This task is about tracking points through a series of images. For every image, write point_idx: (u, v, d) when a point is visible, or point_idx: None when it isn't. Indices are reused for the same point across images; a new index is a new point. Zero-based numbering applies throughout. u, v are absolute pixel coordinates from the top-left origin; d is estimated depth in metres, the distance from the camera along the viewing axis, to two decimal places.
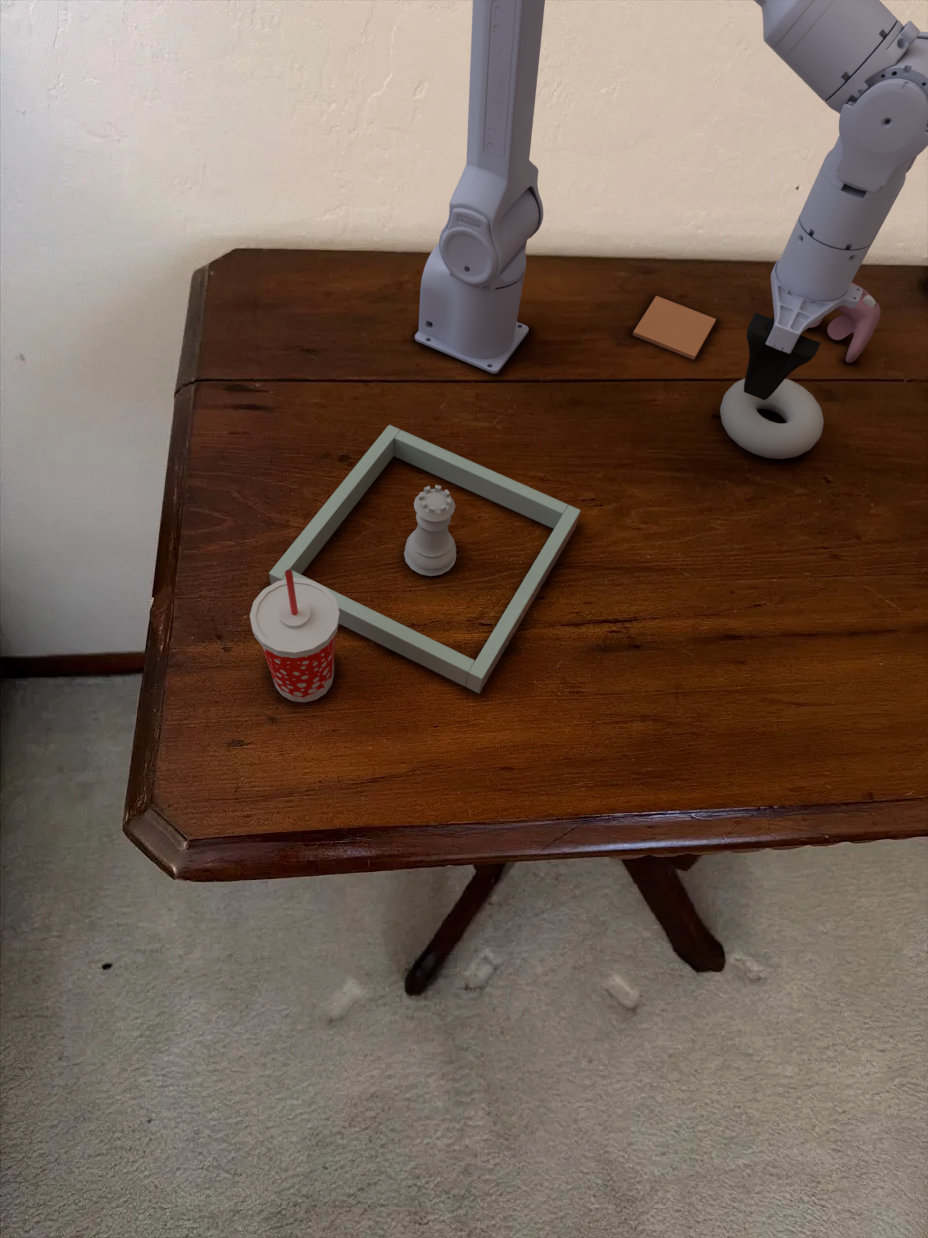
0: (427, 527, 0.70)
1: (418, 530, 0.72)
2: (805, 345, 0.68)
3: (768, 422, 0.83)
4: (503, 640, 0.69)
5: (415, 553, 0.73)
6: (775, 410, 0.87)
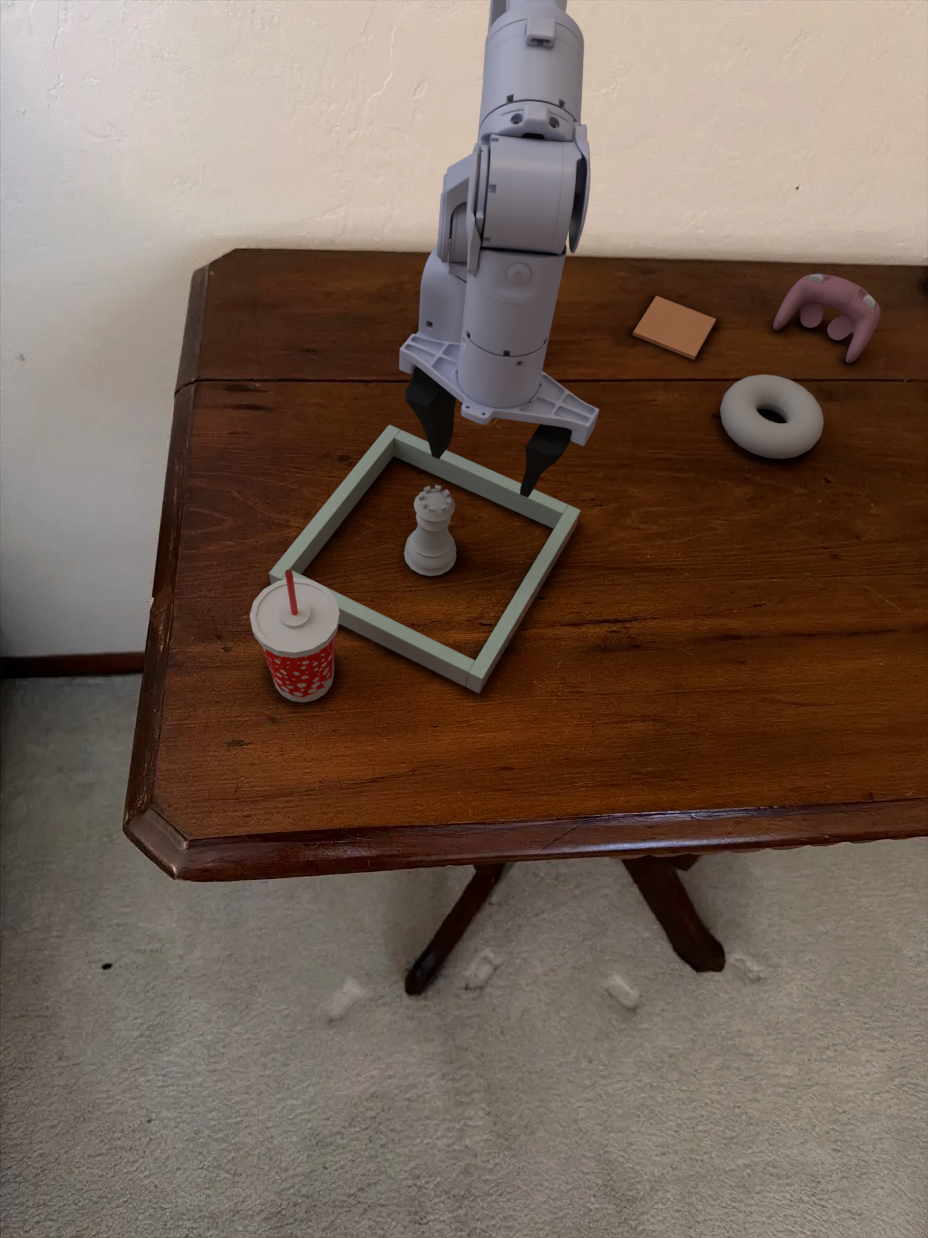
0: (427, 527, 0.70)
1: (418, 530, 0.72)
2: (421, 392, 0.63)
3: (769, 422, 0.83)
4: (503, 640, 0.69)
5: (415, 553, 0.73)
6: (775, 410, 0.87)
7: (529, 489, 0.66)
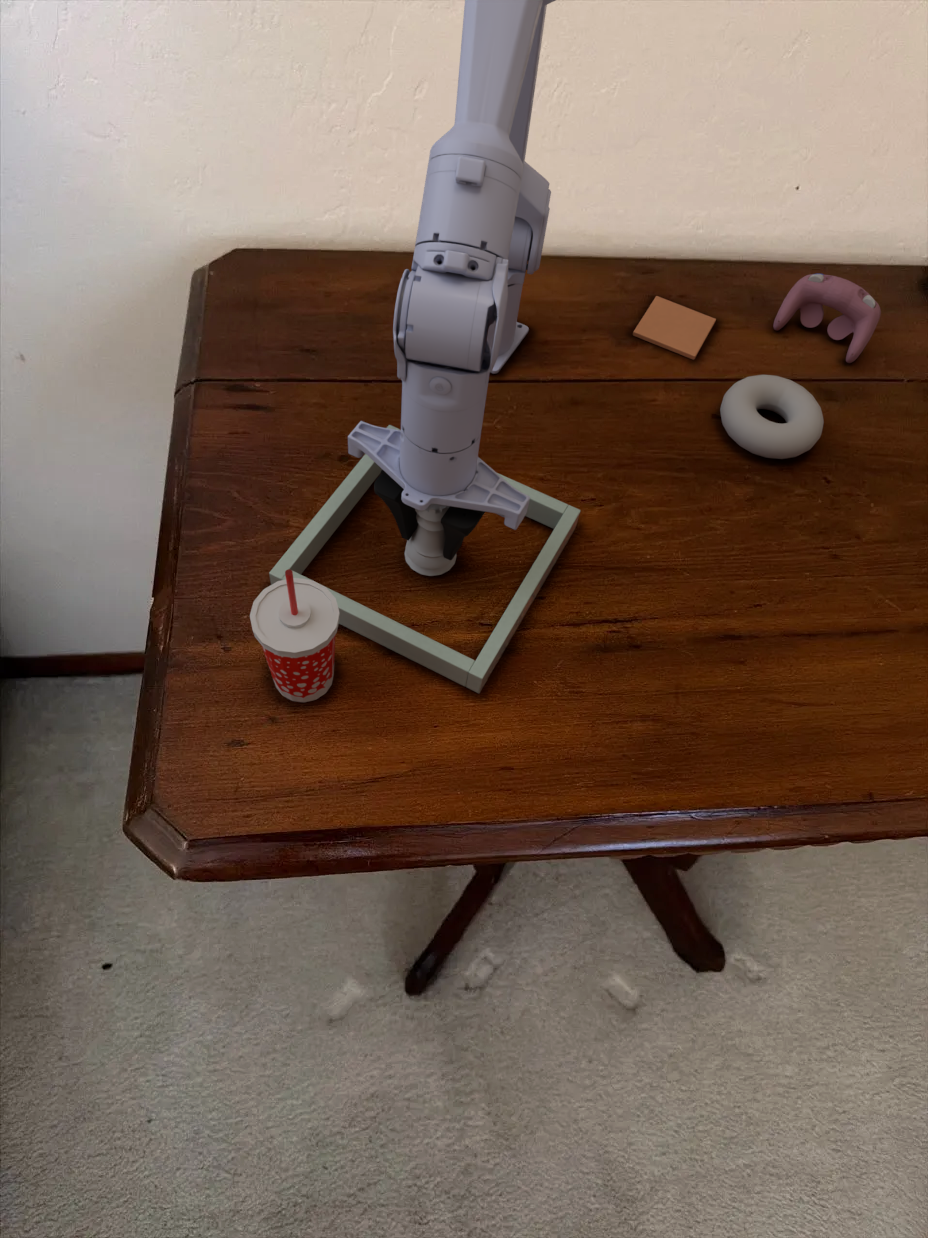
0: (427, 527, 0.70)
1: (418, 530, 0.72)
2: (389, 485, 0.67)
3: (769, 422, 0.83)
4: (503, 640, 0.69)
5: (415, 553, 0.73)
6: (775, 410, 0.87)
7: (450, 554, 0.71)
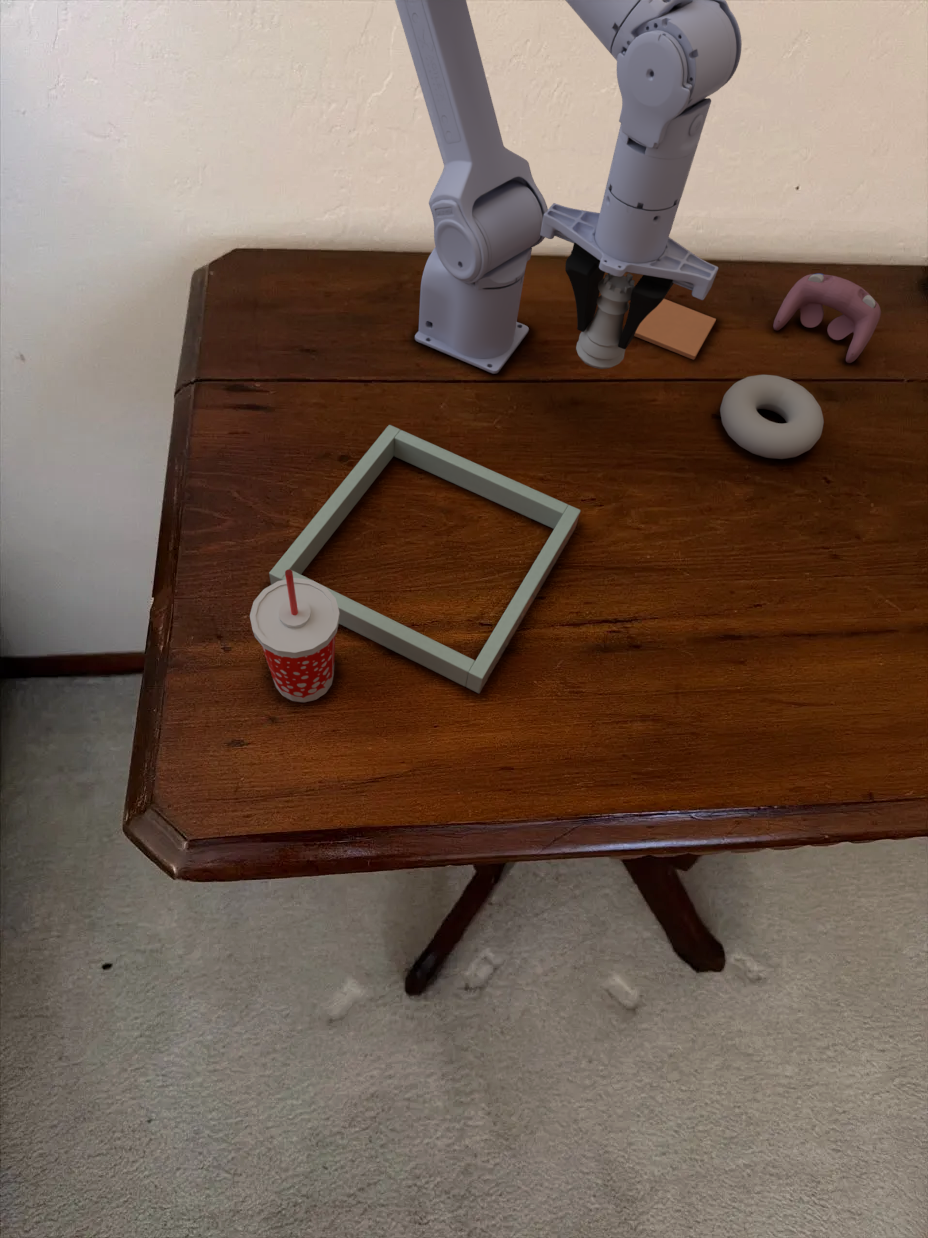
0: (609, 310, 0.74)
1: (597, 318, 0.76)
2: (580, 263, 0.72)
3: (768, 422, 0.83)
4: (503, 640, 0.69)
5: (590, 343, 0.77)
6: (775, 410, 0.87)
7: (627, 339, 0.76)
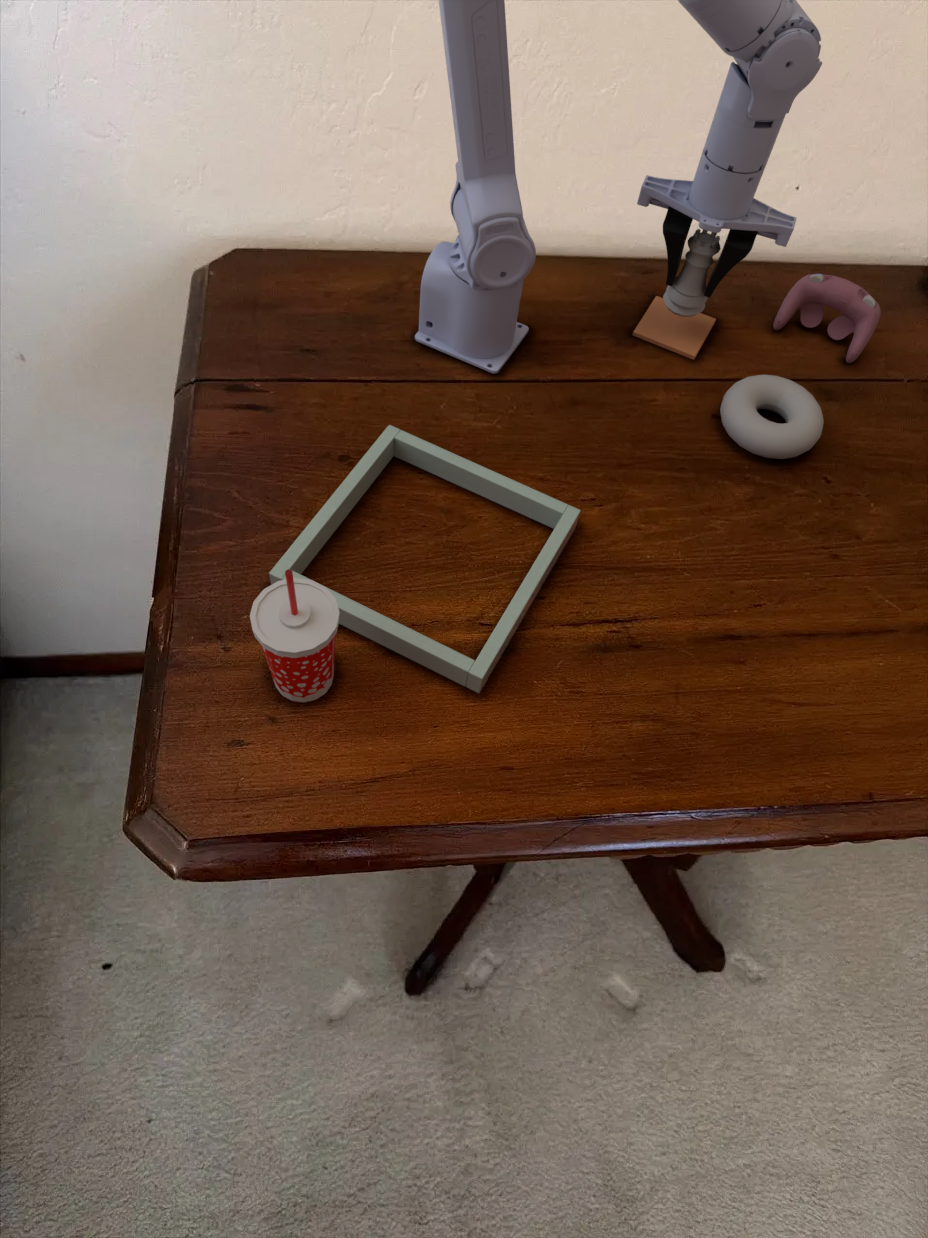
0: (698, 264, 0.86)
1: (685, 272, 0.88)
2: (675, 225, 0.83)
3: (769, 422, 0.83)
4: (503, 640, 0.69)
5: (679, 295, 0.89)
6: (775, 410, 0.87)
7: (714, 288, 0.88)
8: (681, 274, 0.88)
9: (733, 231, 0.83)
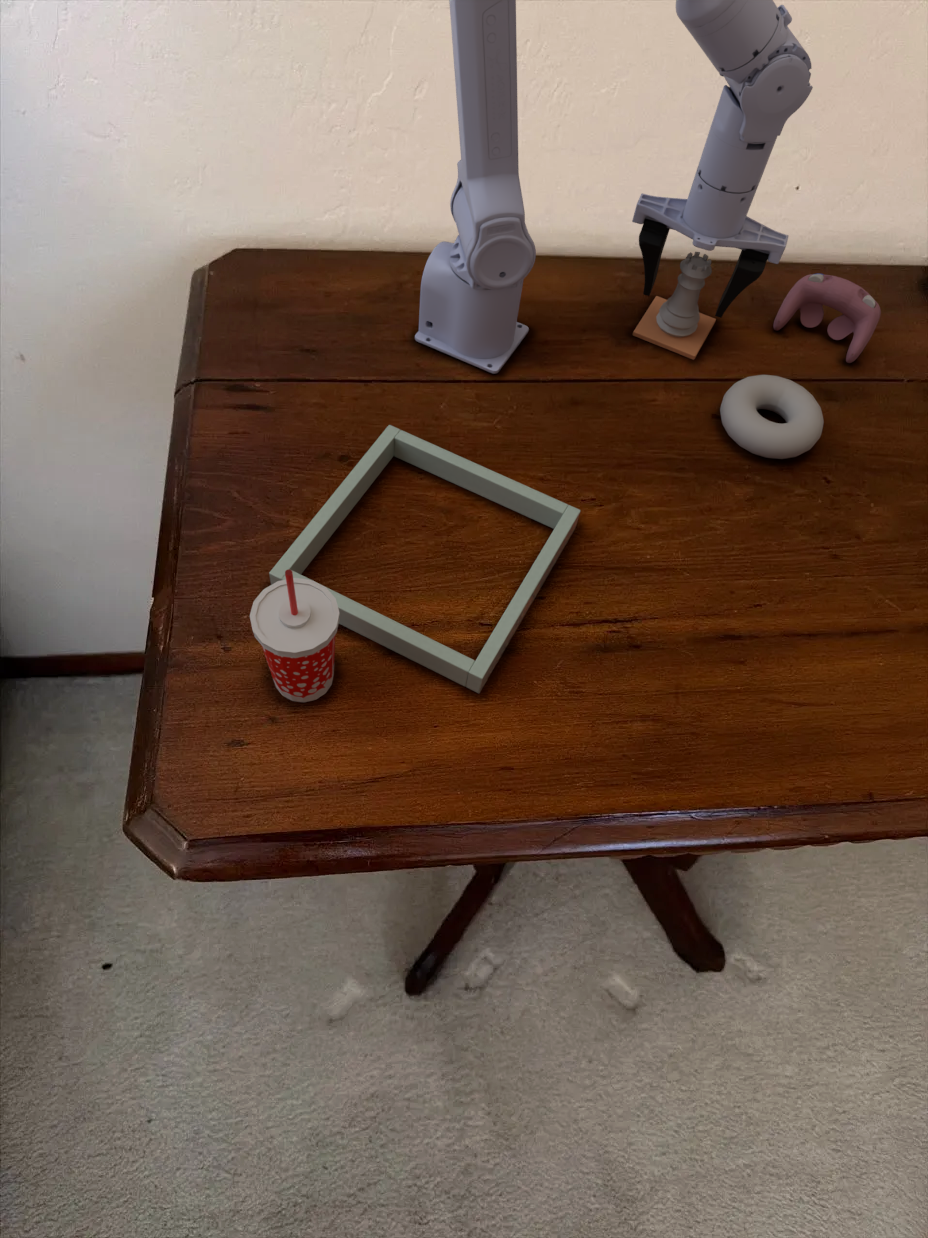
0: (690, 287, 0.88)
1: (677, 294, 0.90)
2: (651, 237, 0.85)
3: (768, 422, 0.83)
4: (503, 640, 0.69)
5: (672, 316, 0.91)
6: (775, 410, 0.87)
7: (725, 309, 0.89)
8: (674, 296, 0.90)
9: (745, 254, 0.84)
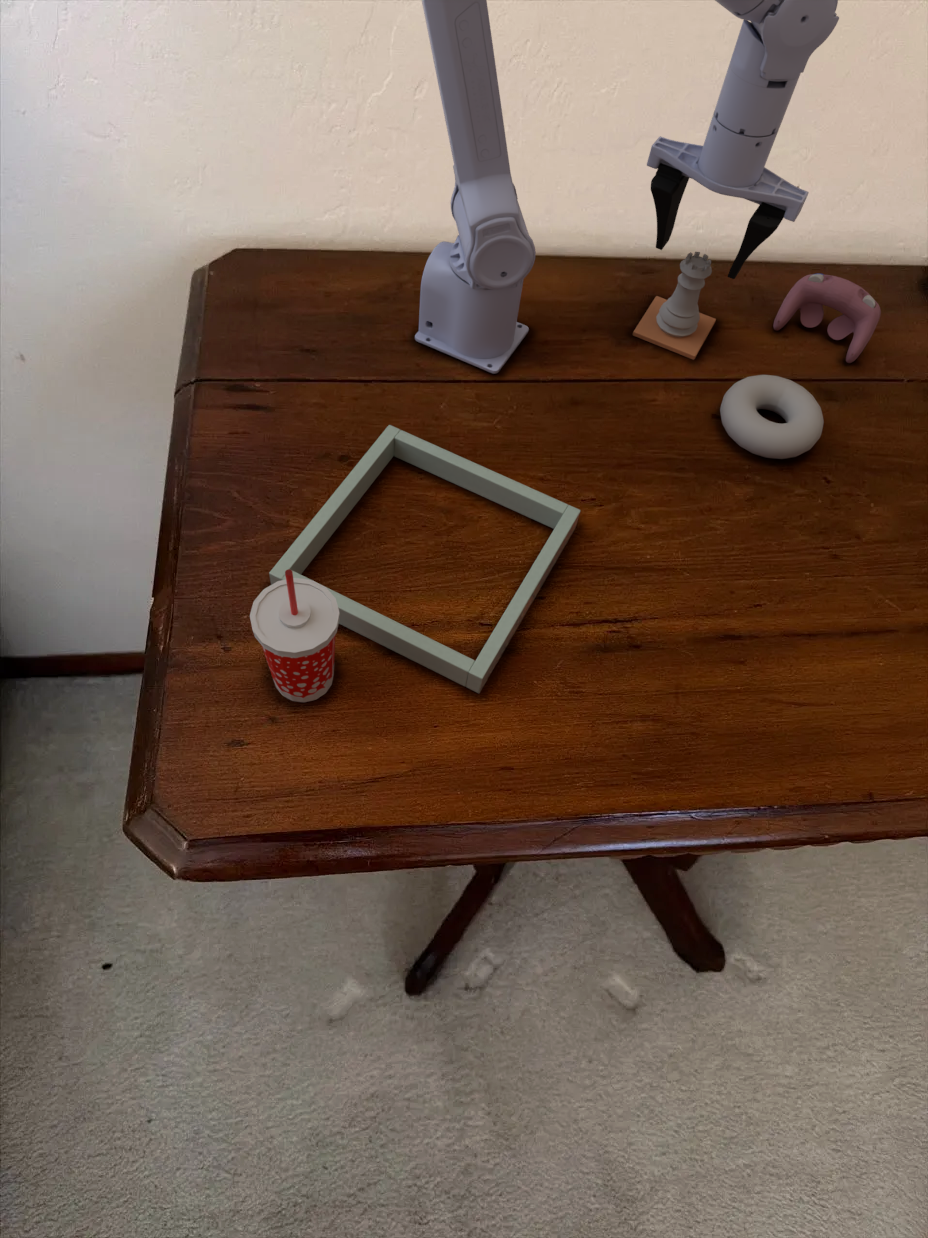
0: (690, 287, 0.88)
1: (677, 294, 0.90)
2: None
3: (768, 422, 0.83)
4: (503, 640, 0.69)
5: (672, 316, 0.91)
6: (775, 410, 0.87)
7: None
8: (674, 296, 0.90)
9: None
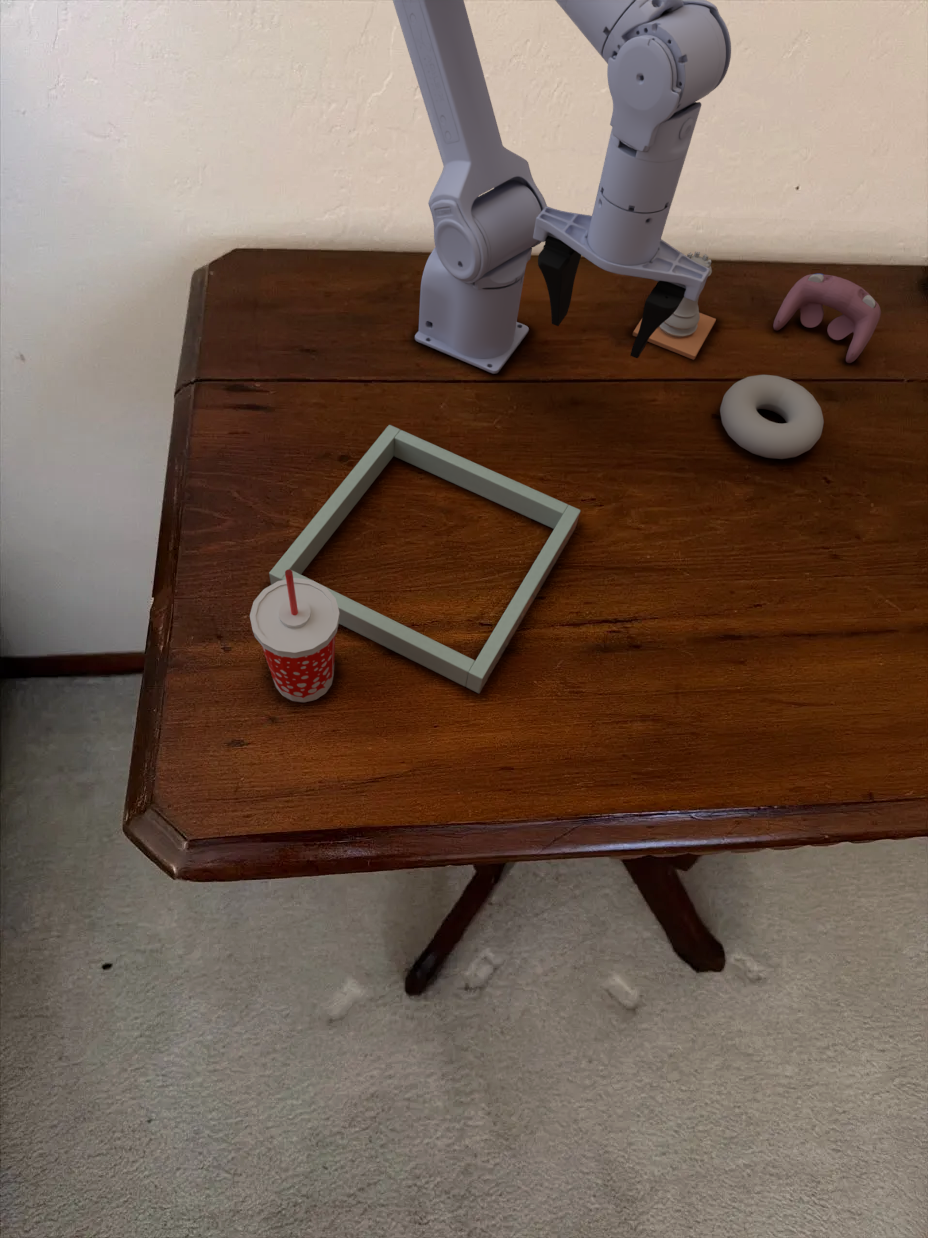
0: None
1: None
2: None
3: (768, 422, 0.83)
4: (503, 640, 0.69)
5: (672, 316, 0.91)
6: (775, 410, 0.87)
7: None
8: None
9: None
